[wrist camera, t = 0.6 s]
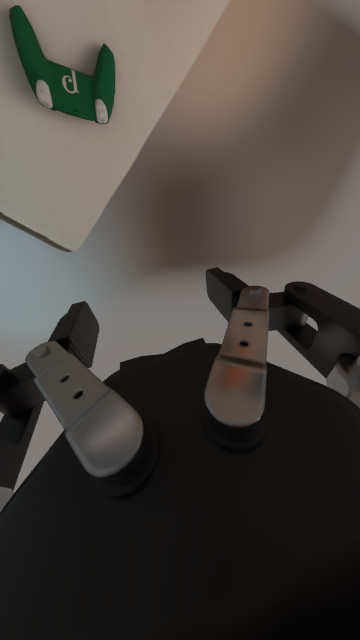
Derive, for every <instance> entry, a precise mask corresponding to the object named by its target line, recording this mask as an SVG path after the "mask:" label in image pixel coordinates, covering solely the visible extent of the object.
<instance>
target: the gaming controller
mask: <svg viewBox="0 0 360 640" xmlns="http://www.w3.org/2000/svg"><path fill="white" fill-rule="evenodd" d="M10 21H11V26H12V31H13V36H14V39H15V43H16V46H17V50H18V53H19V57H20V60H21V62H22V65H23V68H24V71H25V73H26V76H27V78H28V81H29V83H30V85H31V87H32V90H33V92H34V93H35V95H36V97H37V99H38V101H39V102H40V103H41V104H42V105H43V106H45V107H47V108H49V109H52V110H54V111H56V110H57V109H58V111H61V112H63V113H66V114H69V115H72V116H76V117H79V118H83V119H86V120H91V121H93V120H94V121H95V122H96V123H100V124H107V123H108V121H109V119H110V116H111V113H112V108H113V103H114V94H115V63H114V56H113V53H112V52H111V50H110V49H109V48H108V47H107V46H106V45H105V44H103V46H102V48H101V50H100V52H99V54H98V59H97V64H96V69H95V73H94V76H88V75H86V74H83V73H80V72H78V71H75V70H72V69H70V68H67V67H65V66H62V65H59V64H56V63H54V62H51V61H48V60H47V59H46V58H45V56H44V55H43V53H42V50H41V48H40V46H39V43H38V41H37V38H36V36H35V33H34V31H33V28H32V26H31V24H30V23H29V21H28V19H27V17H26V15H25V14H24V12H23V10H22V8H21V7H20V6H18V5H16V6H13V7H12V8H10Z"/></svg>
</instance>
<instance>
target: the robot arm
mask: <svg viewBox="0 0 360 640" xmlns="http://www.w3.org/2000/svg"><path fill="white" fill-rule="evenodd" d="M206 284H207V294H208V297H209V299H210V300H211V301H212V303H213V304H214V305H215V306H216V308H217V309H218V310H219V311H220V313H221V314H222V315H223V316H224V318H225V319H226V320H227V321H228V322H229V324H228V327H227V330H226V333H225V336H224V339H223V343H222V344H217V343H205V341H204V339H203V338H201V339H197V340H194V341H191V342H187V343H184V344H182V345H180V346H178V347H176V348H174V349H172V350H170V351H168V352H166V353H164V354H158V355H148V356H141V357H137V358H134V359H130V360H127V361H124V362H120V370H118V371H116V372H115V373H113V374H112V375H111V376H109V377H108V378H107V379H106V380H104V381H103V382H102V381H101V380H100V379H99V378H98V377H97V376H95V375H94V374H93V373H92V372H91V371H90V370H89V369H88V368H90V367H92V362H93V358H94V353H95V348H96V343H97V338H98V333H99V324H98V321H97V320H96V318H95V316H94V314H93V312H92V311H91V309H90V307H89V305H88V304H87V303H86V302H85V301H83V302H79V303H75V304H72V305H71V307H70V309H69V311H68V313H67V314H65V315H64V316H63V317H62V318H61V319H60V321H59V322H58V324H57V326H56V328H55V330H54V331H53V333H52V335H51V337H50V339H49V340H48V342H45V343H43V344H40V345H39V346H37V347H35V348H34V349H33V350H31V351H30V352H29V353H28V355H27V356H26V359H25V361H26V362H25V363H23V364H21V365H19V366H17V367H15V368H13V369H10V370H9V369H8V368H7V367H5V366H4V365H3V364H0V412H2V413H3V414H4V416H3V418H2V420H1V422H0V640H360V309H359V308H357V307H355V306H353V305H351V304H349V303H348V302H346V301H343V300H342V299H340V298H338V297H336V296H334V295H332V294H330V293H328V292H326V291H324V290H323V289H320V288H318V287H317V286H315V285H313V284H310V283H307V282H291V283H288V284H287V285H286V286H285V289H284V292H278V293H269V290H268V289H267V288H265V287H262V286H248V285H247V284H246V283H244V282H243V281H241V280H240V279H239V278H237V277H236V276H234V275H233V274H231V273H227V272H225V273H224V272H223V271H222V270H220V269H219V268H218V267H216V268H212V269H208V270H206ZM308 316H309V317H311V318H312V319H313V320H315V321H316V323H317V325H318V331H316V330H315V329H314V328H313V327H311V326H310V325H309V324H307V323H306V322H307V319H308ZM272 330H277V331H278V332H279V333H280V334H281V335H282V336H284V338H285V339H286V340H287V341H288V342H289V343H291V345H292V346H293V347H294V348H296V350H297V351H298V352H299V353H301V354H302V355H303V356H304V357H305V358H306V359H307V360H308V361H309V362H310V363H311V364H312V365H313V366H314V367H315V368H316V369H317V370H318V371H319V372H320V373H321V374H322V375H323V376H324V377H325V378H326V379H327V380H326V382H327V386H328V387H327V386H325V385H323V384H320V383H318V382H315V381H313V380H310V379H308V378H305V377H303V376H300V375H298V374H296V373H293V372H290V371H288V370H286V369H283V368H281V367H279V366H276V365H274V364H271V363H268V362H266V357H267V341H268V331H272ZM44 401H47V402H48V404H49V406H50V407H51V409H52V410H53V412H54V414H55V415H56V417H57V418H58V420H59V422H60V423H61V425H62V426H63V428H64V431H63V432H62V434H61V435H60V436H59V437H58V439H57V440H56V441H55V442H54V444H53V445H52V446H51V447H50V449H49V450H48V451H47V452H46V454H45V455H44V456H43V458H42V459H41V460H40V461H39V463H38V464H37V465H36V466H35V468H34V469H33V470H32V471H31V473H30V474H29V475H28V477H27V478H26V479H25V480H24V482H23V483H22V484H21V485H20V487H19V488H18V489H17V490H16V492H15V493H14V492H13V490H14V487H15V484H16V481H17V478H18V475H19V473H20V470H21V467H22V464H23V461H24V458H25V455H26V452H27V449H28V446H29V443H30V441H31V438H32V435H33V432H34V428H35V426H36V423H37V420H38V417H39V414H40V412H41V408H42V405H43V402H44Z"/></svg>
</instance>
